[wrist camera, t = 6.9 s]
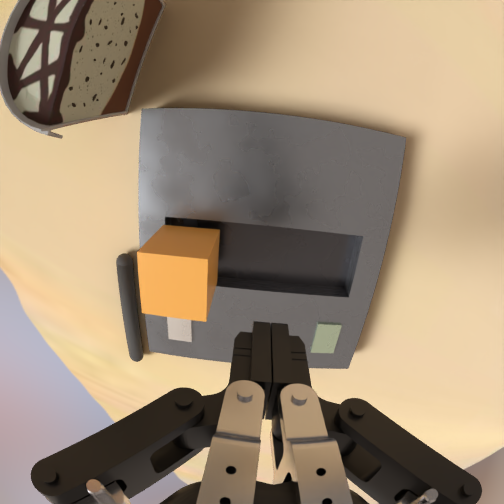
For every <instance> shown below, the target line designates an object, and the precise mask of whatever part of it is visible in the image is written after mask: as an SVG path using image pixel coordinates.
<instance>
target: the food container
mask: <svg viewBox="0 0 504 504" xmlns="http://www.w3.org/2000/svg"><path fill="white" fill-rule="evenodd" d="M165 6H166V5H165V3H164V1H163V0H18V2H17V4H16V5H15V7H14V9H13V11H12V13H11V15H10V17H9V19H8V21H7V24H6V26H5V29H4V32H3V35H2V38H1V42H0V91H1V95H2V97H3V99H4V102H5V104H6V106H7V107H8V109H9V110H10V112H11V113H12V114H13V115H14V116H15V117H16V118H17V119H18V120H19V121H20V122H22V123H23V124H25V125H26V126H28V127H29V128H31V129H33V130H34V131H36V132H39V133H42V134H45V135H48V136H53V137H57V138H62V137H63V136H62V135H59V134H56V133H53V132H50V131H51V130H53V129H57V128H61V127H65V126H69V125H73V124H78V123H82V122H87V121H92V120H97V119H102V118H107V117H113V116H119V115H125V114H127V112H128V109H129V105H130V102H131V98H132V95H133V92H134V88H135V85H136V82H137V79H138V76H139V73H140V70H141V67H142V64H143V61H144V58H145V55H146V53H147V50H148V47H149V45H150V42H151V39H152V37H153V34H154V32H155V29H156V27H157V24H158V22H159V19H160V17H161V15H162V12H163V10H164V8H165Z"/></svg>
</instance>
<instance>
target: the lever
mask: <svg viewBox="0 0 504 504" xmlns="http://www.w3.org/2000/svg"><path fill="white" fill-rule="evenodd" d="M219 238H220V230H217V229H206V228H195V227H183V226H171V225H163V226H162V227H161V228H160V229H159V230H158V231H157V232H156V233H155V234H154V235H153V236H152V237H151V238H150V239H149V240H148V241H147V242H146V243H145V244H144V245H143V246H142V247H141V248H140V249H139V250H138V252H137V261H138V275H139V287H140V298H141V308H142V313H145V314H151V315H158V316H165V317H172V318H180V319H187V320H195V321H203V322H206V321H207V318H208V314H209V310H210V307H211V303H212V299H213V296H214V292H215V288H216V285H217V276H218V256H219Z"/></svg>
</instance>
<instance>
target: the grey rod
mask: <svg viewBox="0 0 504 504" xmlns="http://www.w3.org/2000/svg"><path fill="white" fill-rule="evenodd" d="M116 263H117V274H118V283H119V291H120V299H121V306H122V313H123V320H124V326H125V332H126V338H127V344H128V349H129V354H130V358H131V359H132V360H133V361H136V362H138V361H140V360H142V358H143V349H142V342H141V335H140V328H139V320H138V312H137V303H136V293H135V283H134V271H133V260H132V258H131V256H130V255H128V254H121V255H119V256H118V258H117V261H116Z"/></svg>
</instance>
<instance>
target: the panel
mask: <svg viewBox="0 0 504 504" xmlns="http://www.w3.org/2000/svg"><path fill="white" fill-rule="evenodd" d="M405 143H406V138H405V137H401V136H397V135H393V134H389V133H385V132H381V131H376V130H372V129H367V128H362V127H358V126H353V125H347V124H342V123H336V122H331V121H325V120H318V119H312V118H305V117H298V116H290V115H282V114H273V113H263V112H252V111H239V110H224V109H199V108H149V109H142V112H141V127H140V147H139V239H140V248H141V247H142V246H143V245H144V244H145V243H146V242H147V241H148V240H149V239H150V238H151V237H152V236H153V235H154V234H155V233H156V232H157V231H158V230H159V229H160V228H161V227H162V226H163V225H171V226H183V227H195V228H206V229H217V230H220V238H219V256H218V276H217V285H216V288H215V292H214V296H213V299H212V303H211V307H210V310H209V314H208V318H207V321H206V322H203V321H195V320H187V319H180V318H172V317H165V316H158V315H151V314H145V319H146V328H147V336H148V344H149V351H151V352H157V353H163V354H169V355H176V356H182V357H189V358H197V359H204V360H213V361H221V362H231V363H232V356H233V347H234V339H235V337H236V336H237V335H238V334H239V332H240V331H241V332H252V328H253V321H258V322H269V323H270V325H271V323H283V324H288V329H289V335H291V336H299V337H300V338H301V340H302V341H303V342H304V344H305V349H306V355H307V361H308V368H334V369H348V368H349V365H350V362H351V360H352V357H353V354H354V351H355V349H356V346H357V343H358V340H359V337H360V334H361V331H362V328H363V325H364V322H365V319H366V316H367V313H368V310H369V307H370V303H371V300H372V297H373V293H374V290H375V287H376V283H377V279H378V276H379V272H380V268H381V265H382V261H383V257H384V253H385V249H386V245H387V241H388V236H389V232H390V228H391V223H392V219H393V214H394V209H395V204H396V199H397V194H398V188H399V182H400V177H401V171H402V164H403V158H404V151H405Z"/></svg>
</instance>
